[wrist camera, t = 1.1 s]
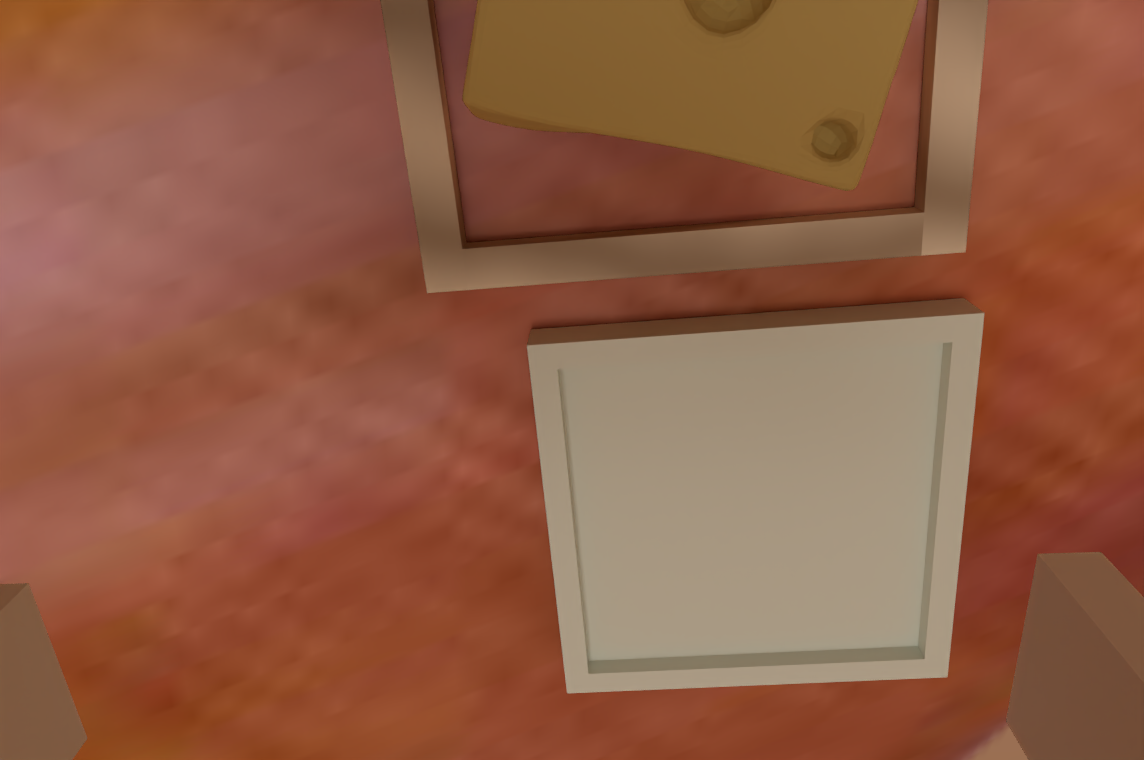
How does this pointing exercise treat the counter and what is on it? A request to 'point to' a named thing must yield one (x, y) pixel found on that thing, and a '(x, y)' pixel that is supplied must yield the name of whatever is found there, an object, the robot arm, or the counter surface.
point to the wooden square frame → (699, 246)
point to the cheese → (697, 75)
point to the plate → (757, 493)
